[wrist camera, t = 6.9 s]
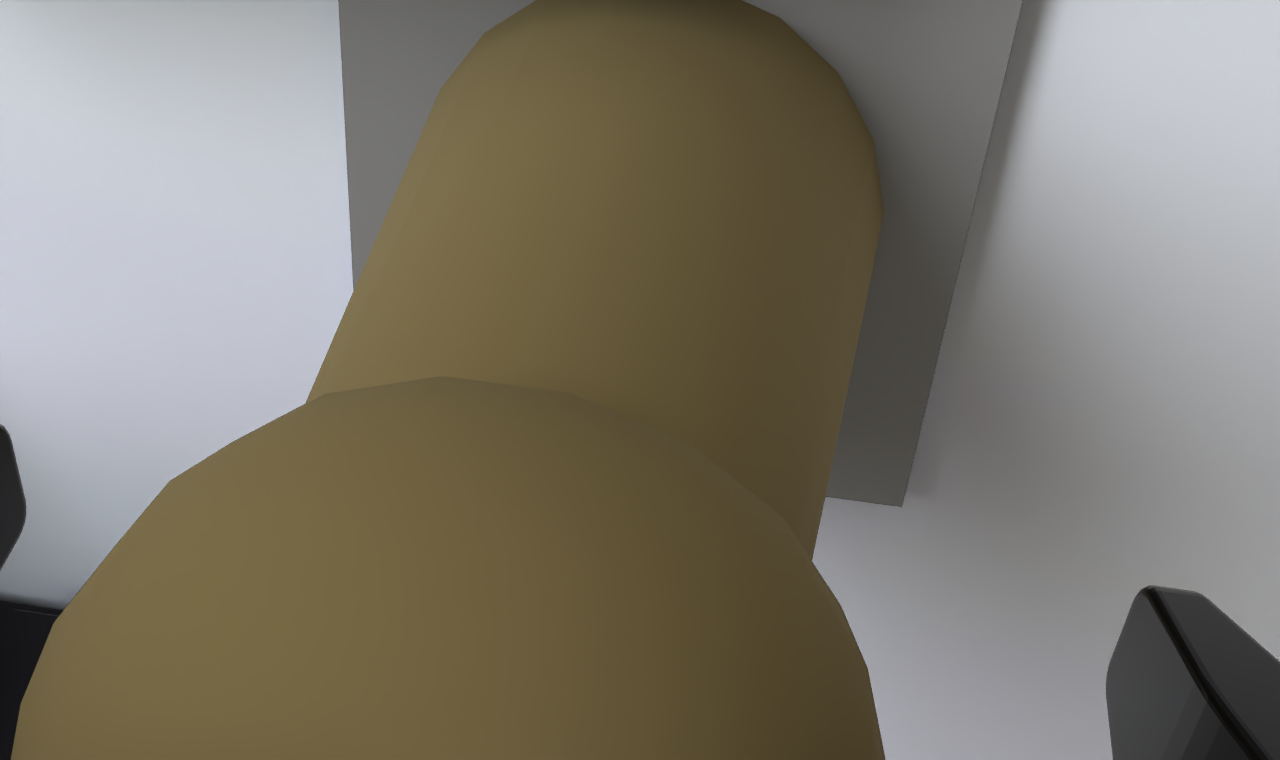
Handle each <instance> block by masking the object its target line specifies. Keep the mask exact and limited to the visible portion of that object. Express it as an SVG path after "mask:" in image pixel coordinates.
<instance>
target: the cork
mask: <svg viewBox="0 0 1280 760" xmlns="http://www.w3.org/2000/svg"><path fill="white" fill-rule="evenodd" d="M883 214H884V206H883V200H882V193H881V186H880V180H879V173H878V166H877V159H876V153H875V146H874V139H873V138H872V136H871V134H870V132H869V130H868V128H867V126H866V124H865V122H864V120H863V119H862V117H861V115H860V113H859V111H858V109H857V107H856V105H855V103H854V102H853V100H852V98H851V96H850V94H849V92H848V90H847V88H846V86H845V85H844V83H843V81H842V79H841V77H840V75H839V73H838V72H837V71H836V70H835V69H834V68H833V67H832V66H831V65H830V64H829V63H828V62H827V61H826V60H824V59H823V58H822V57H821V56H820V55H819V54H818V53H817V52H816V51H815V50H814V49H813V48H812V47H811V46H810V45H809V44H807V43H806V42H805V41H804V40H803V39H802V38H801V37H800V36H799V35H798V34H797V33H796V32H795V31H794V30H793V29H791V28H790V27H789V26H788V25H787V24H786V23H785V22H784V21H783V20H782V19H781V18H780V17H777V16H775V15H773V14H771V13H769V12H766V11H764V10H762V9H760V8H758V7H756V6H753V5H751V4H749V3H747V2H745V1H742V0H536V1H534V2H532V3H531V4H529V5H528V6H526V7H524V8H523V9H521V10H520V11H518V12H516V13H515V14H513V15H512V16H510V17H508V18H507V19H505V20H504V21H502V22H501V23H499V24H497V25H496V26H494V27H493V28H491V29H489V30H488V31H486V32H485V33H484V34H483V35H482V36H481V38H480V39H479V40H478V41H477V43H476V44H475V45H474V47H473V48H472V49H471V50H470V52H469V53H468V54H467V56H466V57H465V58H464V59H463V61H462V62H461V63H460V65H459V66H458V67H457V68H456V70H455V71H454V72H453V74H452V75H451V76H450V77H449V79H448V80H447V81H446V83H445V84H444V85H443V86H442V88H441V89H440V91H439V93H438V96H437V98H436V100H435V103H434V105H433V107H432V110H431V112H430V114H429V117H428V119H427V121H426V124H425V126H424V128H423V131H422V133H421V135H420V138H419V140H418V142H417V145H416V147H415V149H414V152H413V154H412V156H411V159H410V161H409V163H408V166H407V168H406V170H405V173H404V175H403V177H402V180H401V182H400V184H399V187H398V189H397V191H396V194H395V196H394V198H393V201H392V203H391V205H390V208H389V210H388V212H387V215H386V217H385V219H384V222H383V224H382V226H381V229H380V231H379V233H378V236H377V238H376V240H375V243H374V245H373V247H372V250H371V252H370V254H369V257H368V259H367V261H366V264H365V266H364V268H363V271H362V273H361V275H360V278H359V280H358V282H357V285H356V287H355V289H354V292H353V294H352V296H351V299H350V301H349V303H348V306H347V308H346V310H345V313H344V315H343V317H342V320H341V322H340V324H339V327H338V329H337V331H336V334H335V336H334V338H333V341H332V343H331V345H330V348H329V350H328V352H327V355H326V357H325V359H324V362H323V364H322V366H321V369H320V371H319V373H318V376H317V378H316V380H315V383H314V385H313V387H312V390H311V392H310V394H309V397H308V399H307V401H306V404H304V405H302V406H300V407H298V408H296V409H294V410H293V411H291V412H289V413H287V414H285V415H283V416H281V417H279V418H277V419H275V420H274V421H272V422H270V423H268V424H266V425H264V426H262V427H260V428H258V429H256V430H254V431H253V432H251V433H249V434H247V435H245V436H243V437H241V438H239V439H237V440H235V441H233V442H232V443H230V444H229V445H227V446H225V447H224V448H222V449H220V450H219V451H217V452H216V453H214V454H212V455H211V456H209V457H208V458H206V459H204V460H203V461H201V462H200V463H198V464H196V465H195V466H193V467H192V468H190V469H188V470H187V471H185V472H184V473H182V474H180V475H179V476H177V477H176V478H174V479H172V480H171V481H169V483H168V484H167V485H166V486H165V487H164V488H163V490H162V491H161V492H160V493H159V494H158V496H157V497H156V498H155V499H154V500H153V502H152V503H151V504H150V505H149V506H148V507H147V509H146V510H145V511H144V512H143V513H142V515H141V516H140V517H139V518H138V519H137V521H136V522H135V523H134V524H133V525H132V526H131V528H130V529H129V530H128V531H127V532H126V534H125V535H124V536H123V537H122V538H121V539H120V541H119V542H118V543H117V544H116V546H115V547H114V548H113V549H112V551H111V552H110V553H109V554H108V556H107V557H106V558H105V559H104V561H103V562H102V563H101V564H100V566H99V567H98V568H97V569H96V571H95V572H94V573H93V574H92V576H91V577H90V578H89V579H88V581H87V582H86V583H85V584H84V586H83V587H82V588H81V589H80V591H79V592H78V593H77V594H76V596H75V597H74V598H73V599H72V601H71V602H70V603H69V604H68V605H67V607H66V608H65V609H64V610H63V612H62V613H61V614H60V615H59V617H58V618H57V619H56V620H55V622H54V623H53V626H52V628H51V631H50V633H49V636H48V638H47V641H46V643H45V645H44V648H43V650H42V653H41V655H40V658H39V660H38V663H37V665H36V667H35V670H34V672H33V675H32V677H31V680H30V682H29V685H28V687H27V690H26V692H25V694H24V697H23V699H22V702H21V705H20V710H19V716H18V721H17V727H16V733H15V738H14V744H13V750H12V755H11V760H885V755H884V750H883V745H882V740H881V735H880V729H879V724H878V719H877V714H876V709H875V704H874V699H873V693H872V688H871V683H870V678H869V673H868V668H867V666H866V663H865V661H864V659H863V656H862V654H861V652H860V649H859V647H858V645H857V642H856V640H855V638H854V635H853V633H852V631H851V628H850V626H849V624H848V621H847V619H846V617H845V614H844V612H843V610H842V607H841V605H840V604H839V602H838V601H837V599H836V597H835V596H834V594H833V593H832V591H831V590H830V588H829V587H828V585H827V584H826V582H825V581H824V579H823V578H822V576H821V575H820V573H819V572H818V570H817V569H816V567H815V565H814V564H813V562H812V558H813V553H814V548H815V543H816V538H817V534H818V529H819V524H820V519H821V515H822V510H823V505H824V500H825V495H826V491H827V486H828V481H829V476H830V472H831V467H832V462H833V457H834V453H835V448H836V443H837V438H838V433H839V429H840V424H841V419H842V414H843V410H844V405H845V400H846V395H847V390H848V386H849V381H850V376H851V371H852V367H853V362H854V357H855V352H856V348H857V343H858V338H859V333H860V328H861V324H862V319H863V314H864V309H865V305H866V300H867V295H868V290H869V285H870V281H871V276H872V271H873V266H874V260H875V255H876V250H877V245H878V240H879V235H880V230H881V225H882V220H883Z"/></svg>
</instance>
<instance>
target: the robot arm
mask: <svg viewBox="0 0 1280 760" xmlns="http://www.w3.org/2000/svg"><path fill="white" fill-rule="evenodd" d="M25 518H26V500H25V496H24V492H23V487H22V483H21V479H20V475H19V470H18V466H17V462H16V458H15V453H14V449H13V445H12V440H11V437H10V435H9V433H8V431H7V430H6V429H5V427H4V426H3V425H1V424H0V570H1V568H2V567H3V565H4V563H5V561H6V560H7V558H8V556H9V554H10V552H11V551H12V549H13V547H14V545H15V543H16V542H17V540H18V538H19V536H20V534H21V532H22V529H23V526H24V523H25ZM62 612H63V610H56V609H50V608H43V607H37V606H30V605H23V604H17V603H10V602H3V601H0V760H11V755H12V750H13V744H14V738H15V733H16V727H17V721H18V716H19V710H20V705H21V702H22V699H23V697H24V694H25V692H26V690H27V687H28V685H29V682H30V680H31V677H32V675H33V672H34V670H35V667H36V665H37V663H38V660H39V658H40V655H41V653H42V650H43V648H44V645H45V643H46V641H47V638H48V636H49V633H50V631H51V628H52V626H53V623H54V622H55V620H56V619H57V618H58V617H59V615H60V614H61V613H62ZM1106 699H1107V709H1108V718H1109V727H1110V736H1111V746H1112V755H1113V760H1280V662H1279V661H1278V660H1277V659H1276V658H1275V657H1274V656H1273V655H1271V654H1270V653H1269V652H1268V651H1267V650H1266V649H1265V648H1263V647H1262V646H1261V645H1260V644H1259V643H1258V642H1257V641H1255V640H1254V639H1253V638H1252V637H1251V636H1250V635H1249V634H1247V633H1246V632H1245V631H1244V630H1243V629H1242V628H1241V627H1239V626H1238V625H1237V624H1236V623H1235V622H1234V621H1233V620H1231V619H1230V618H1229V617H1228V616H1227V615H1226V614H1225V613H1223V612H1222V611H1221V610H1220V609H1219V608H1218V607H1217V606H1215V605H1214V604H1213V603H1212V602H1211V601H1210V600H1209V599H1207V598H1206V597H1205V596H1203V595H1202V594H1200V593H1197V592H1194V591H1188V590H1181V589H1174V588H1167V587H1160V586H1147V587H1145V588H1143V589H1141V590H1140V591H1139V593H1138V594H1137V595H1136V597H1135V599H1134V601H1133V603H1132V606H1131V608H1130V611H1129V613H1128V616H1127V619H1126V621H1125V624H1124V626H1123V629H1122V632H1121V634H1120V637H1119V639H1118V642H1117V645H1116V647H1115V650H1114V652H1113V655H1112V658H1111V660H1110V663H1109V667H1108V671H1107V678H1106Z"/></svg>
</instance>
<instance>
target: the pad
mask: <svg viewBox="0 0 1280 760" xmlns="http://www.w3.org/2000/svg"><path fill="white" fill-rule="evenodd" d="M534 1H536V0H339V20H340V39H341V58H342V77H343V97H344V116H345V135H346V154H347V174H348V193H349V212H350V232H351V251H352V270H353V289H355V287H356V285H357V282H358V280H359V278H360V275H361V273H362V271H363V268H364V266H365V264H366V261H367V259H368V257H369V254H370V252H371V250H372V247H373V245H374V243H375V240H376V238H377V236H378V233H379V231H380V229H381V226H382V224H383V222H384V219H385V217H386V215H387V212H388V210H389V208H390V205H391V203H392V201H393V198H394V196H395V194H396V191H397V189H398V187H399V184H400V182H401V180H402V177H403V175H404V173H405V170H406V168H407V166H408V163H409V161H410V159H411V156H412V154H413V152H414V149H415V147H416V145H417V142H418V140H419V138H420V135H421V133H422V131H423V128H424V126H425V124H426V121H427V119H428V117H429V114H430V112H431V110H432V107H433V105H434V103H435V100H436V98H437V96H438V93H439V91H440V89H441V88H442V86H443V85H444V84H445V83H446V81H447V80H448V79H449V77H450V76H451V75H452V74H453V72H454V71H455V70H456V68H457V67H458V66H459V65H460V63H461V62H462V61H463V59H464V58H465V57H466V56H467V54H468V53H469V52H470V50H471V49H472V48H473V47H474V45H475V44H476V43H477V41H478V40H479V39H480V38H481V36H482V35H483V34H484V33H485V32H486V31H488V30H489V29H491V28H493V27H494V26H496V25H497V24H499V23H501V22H502V21H504V20H505V19H507V18H508V17H510V16H512V15H513V14H515V13H516V12H518V11H520V10H521V9H523V8H524V7H526V6H528V5H529V4H531V3H532V2H534ZM742 1H745V2H747V3H749V4H751V5H753V6H756V7H758V8H760V9H762V10H764V11H766V12H769V13H771V14H773V15H775V16H777V17H780V18H781V19H782V20H783V21H784V22H785V23H786V24H787V25H788V26H789V27H790V28H791V29H793V30H794V31H795V32H796V33H797V34H798V35H799V36H800V37H801V38H802V39H803V40H804V41H805V42H806V43H807V44H809V45H810V46H811V47H812V48H813V49H814V50H815V51H816V52H817V53H818V54H819V55H820V56H821V57H822V58H823V59H824V60H826V61H827V62H828V63H829V64H830V65H831V66H832V67H833V68H834V69H835V70H836V71H837V72H838V73H839V75H840V77H841V79H842V81H843V83H844V85H845V86H846V88H847V90H848V92H849V94H850V96H851V98H852V100H853V102H854V103H855V105H856V107H857V109H858V111H859V113H860V115H861V117H862V119H863V120H864V122H865V124H866V126H867V128H868V130H869V132H870V134H871V136H872V138H873V139H874V146H875V153H876V159H877V166H878V173H879V180H880V186H881V193H882V200H883V206H884V214H883V220H882V225H881V230H880V235H879V240H878V245H877V250H876V255H875V260H874V266H873V271H872V276H871V281H870V285H869V290H868V295H867V300H866V305H865V309H864V314H863V319H862V324H861V328H860V333H859V338H858V343H857V348H856V352H855V357H854V362H853V367H852V371H851V376H850V381H849V386H848V390H847V395H846V400H845V405H844V410H843V414H842V419H841V424H840V429H839V433H838V438H837V443H836V448H835V453H834V457H833V462H832V467H831V472H830V476H829V481H828V486H827V491H826V495H825V496H826V497H833V498H840V499H847V500H855V501H862V502H869V503H876V504H884V505H891V506H898V507H902V505H903V500H904V496H905V492H906V488H907V484H908V479H909V475H910V471H911V467H912V463H913V458H914V454H915V450H916V446H917V442H918V438H919V433H920V429H921V425H922V421H923V417H924V412H925V408H926V404H927V400H928V396H929V391H930V387H931V383H932V379H933V375H934V370H935V366H936V362H937V358H938V354H939V350H940V345H941V341H942V337H943V333H944V329H945V324H946V320H947V316H948V312H949V308H950V303H951V299H952V295H953V291H954V287H955V282H956V278H957V274H958V270H959V266H960V261H961V257H962V253H963V249H964V245H965V241H966V236H967V232H968V228H969V224H970V220H971V215H972V211H973V207H974V203H975V199H976V194H977V190H978V186H979V182H980V178H981V173H982V169H983V165H984V161H985V157H986V153H987V148H988V144H989V140H990V136H991V132H992V127H993V123H994V119H995V115H996V111H997V106H998V102H999V98H1000V94H1001V90H1002V85H1003V81H1004V77H1005V73H1006V69H1007V64H1008V60H1009V56H1010V52H1011V48H1012V44H1013V39H1014V35H1015V31H1016V27H1017V23H1018V18H1019V14H1020V10H1021V6H1022V2H1023V0H742Z"/></svg>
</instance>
